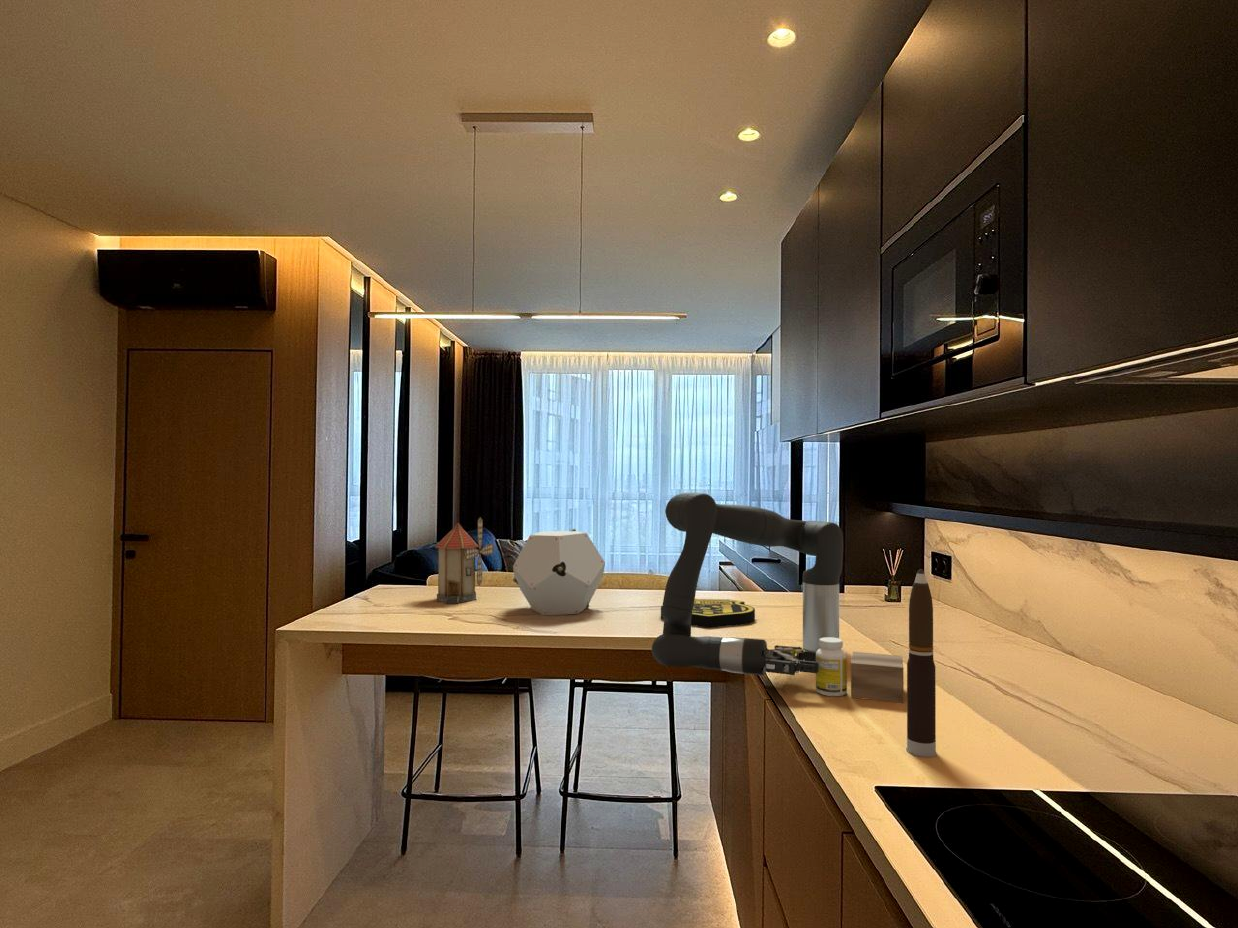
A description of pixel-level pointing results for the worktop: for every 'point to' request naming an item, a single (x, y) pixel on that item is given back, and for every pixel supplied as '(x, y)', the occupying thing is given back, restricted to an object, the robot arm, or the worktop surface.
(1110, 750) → the worktop surface
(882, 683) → the walnut block
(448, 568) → the miniature windmill
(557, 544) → the geometric sculpture
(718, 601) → the emblem
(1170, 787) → the worktop surface
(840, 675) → the pill bottle
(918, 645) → the ammunition
